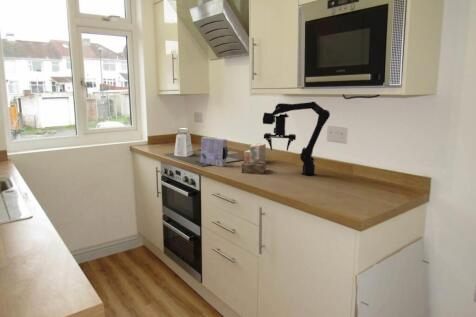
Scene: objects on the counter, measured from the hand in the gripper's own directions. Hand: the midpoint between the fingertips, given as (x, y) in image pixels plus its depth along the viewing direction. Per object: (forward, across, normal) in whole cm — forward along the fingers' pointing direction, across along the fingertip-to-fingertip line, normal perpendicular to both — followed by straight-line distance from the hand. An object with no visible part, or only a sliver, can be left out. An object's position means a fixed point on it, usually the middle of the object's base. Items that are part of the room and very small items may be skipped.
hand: (279, 150), depth 209 cm
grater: (+14, +75, -38) cm, 85 cm away
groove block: (+13, +15, +2) cm, 20 cm away
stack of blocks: (+14, +18, -23) cm, 32 cm away
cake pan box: (+14, +43, -10) cm, 47 cm away
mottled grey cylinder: (+12, +14, +2) cm, 19 cm away
